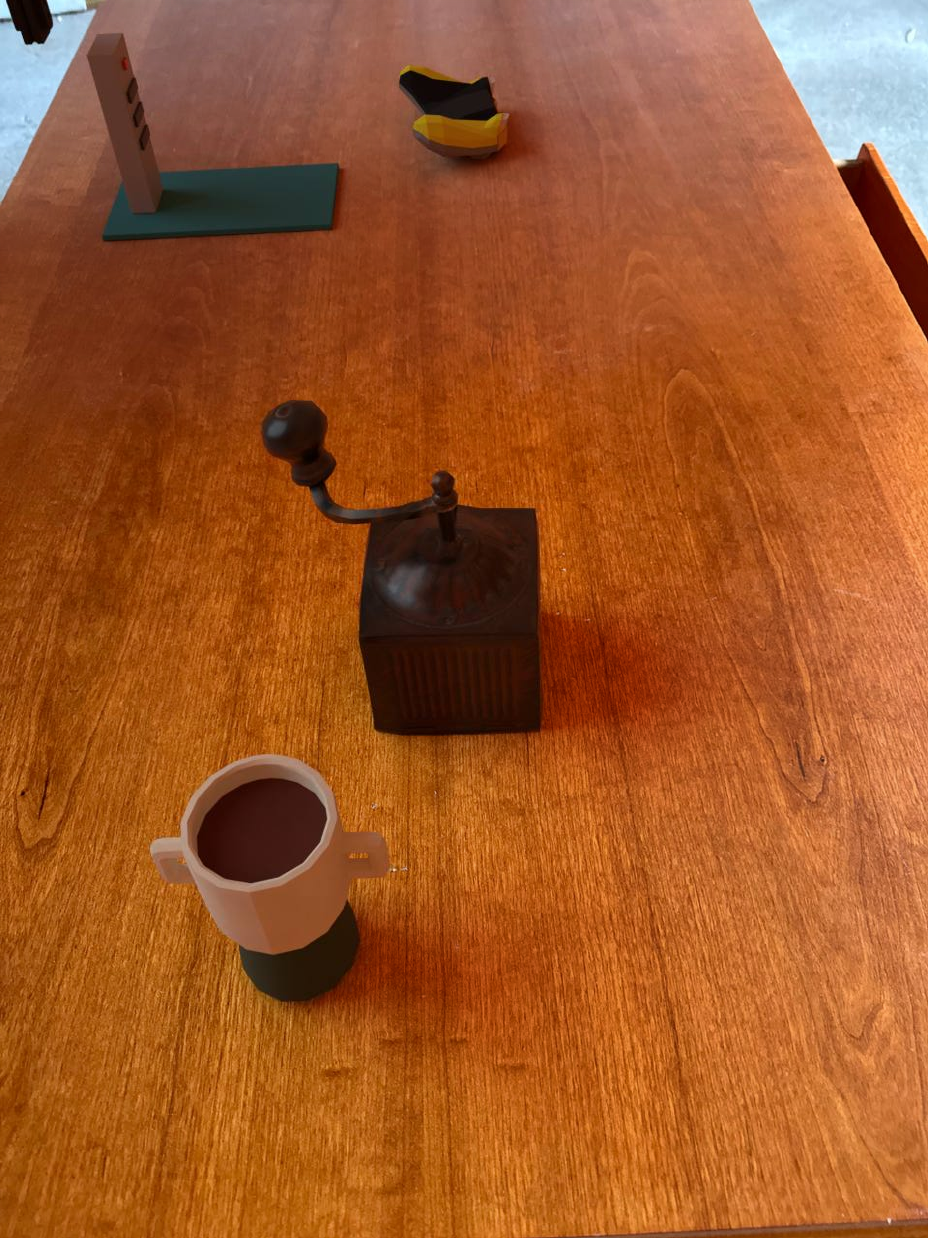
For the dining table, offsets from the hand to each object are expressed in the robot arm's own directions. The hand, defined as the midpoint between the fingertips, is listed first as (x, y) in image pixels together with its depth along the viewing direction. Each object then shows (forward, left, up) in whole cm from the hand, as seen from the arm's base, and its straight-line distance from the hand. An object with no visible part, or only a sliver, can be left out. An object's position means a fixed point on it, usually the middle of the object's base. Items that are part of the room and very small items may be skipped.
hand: (38, 37), depth 101 cm
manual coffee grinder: (+33, -60, -17) cm, 71 cm away
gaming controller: (+36, +11, -17) cm, 41 cm away
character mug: (+27, -79, -17) cm, 85 cm away
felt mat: (+13, 0, -16) cm, 21 cm away
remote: (+6, 0, -16) cm, 17 cm away
